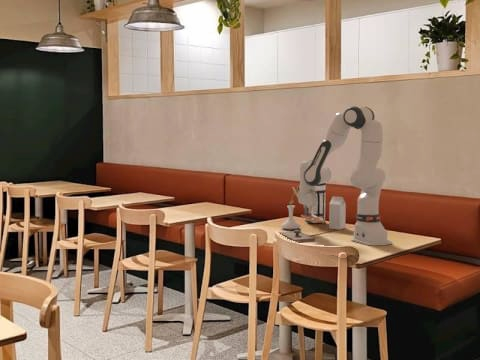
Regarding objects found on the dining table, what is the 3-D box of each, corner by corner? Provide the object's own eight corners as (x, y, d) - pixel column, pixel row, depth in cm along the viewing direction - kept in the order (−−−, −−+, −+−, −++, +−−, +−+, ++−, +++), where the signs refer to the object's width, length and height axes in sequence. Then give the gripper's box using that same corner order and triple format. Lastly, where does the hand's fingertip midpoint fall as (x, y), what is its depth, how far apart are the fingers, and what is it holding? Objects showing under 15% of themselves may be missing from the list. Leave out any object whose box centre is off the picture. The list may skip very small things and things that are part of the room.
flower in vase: (295, 231, 345) (296, 188, 343) (278, 229, 351) (278, 187, 348) (304, 227, 356) (304, 186, 354) (287, 226, 362) (287, 185, 360)
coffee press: (297, 223, 373) (297, 175, 370) (314, 220, 384) (314, 173, 381) (318, 226, 361) (319, 177, 358) (335, 223, 371) (335, 175, 368)
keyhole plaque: (324, 222, 327) (325, 213, 326) (313, 222, 325) (313, 213, 324) (312, 215, 343) (312, 207, 342) (300, 216, 341) (301, 207, 340)
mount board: (314, 241, 317) (314, 233, 316) (293, 242, 313) (294, 234, 313) (298, 233, 338) (298, 226, 337) (279, 235, 334) (279, 227, 334)
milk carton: (339, 230, 349) (340, 197, 347) (329, 228, 353) (329, 196, 351) (345, 228, 354) (345, 196, 352) (334, 227, 359) (335, 195, 357)
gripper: (320, 190, 330) (320, 214, 331) (305, 187, 349) (306, 210, 350) (310, 190, 328) (310, 215, 329) (295, 187, 347) (296, 211, 349)
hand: (308, 212), depth 340 cm, fingers closed on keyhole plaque, 3 cm apart
